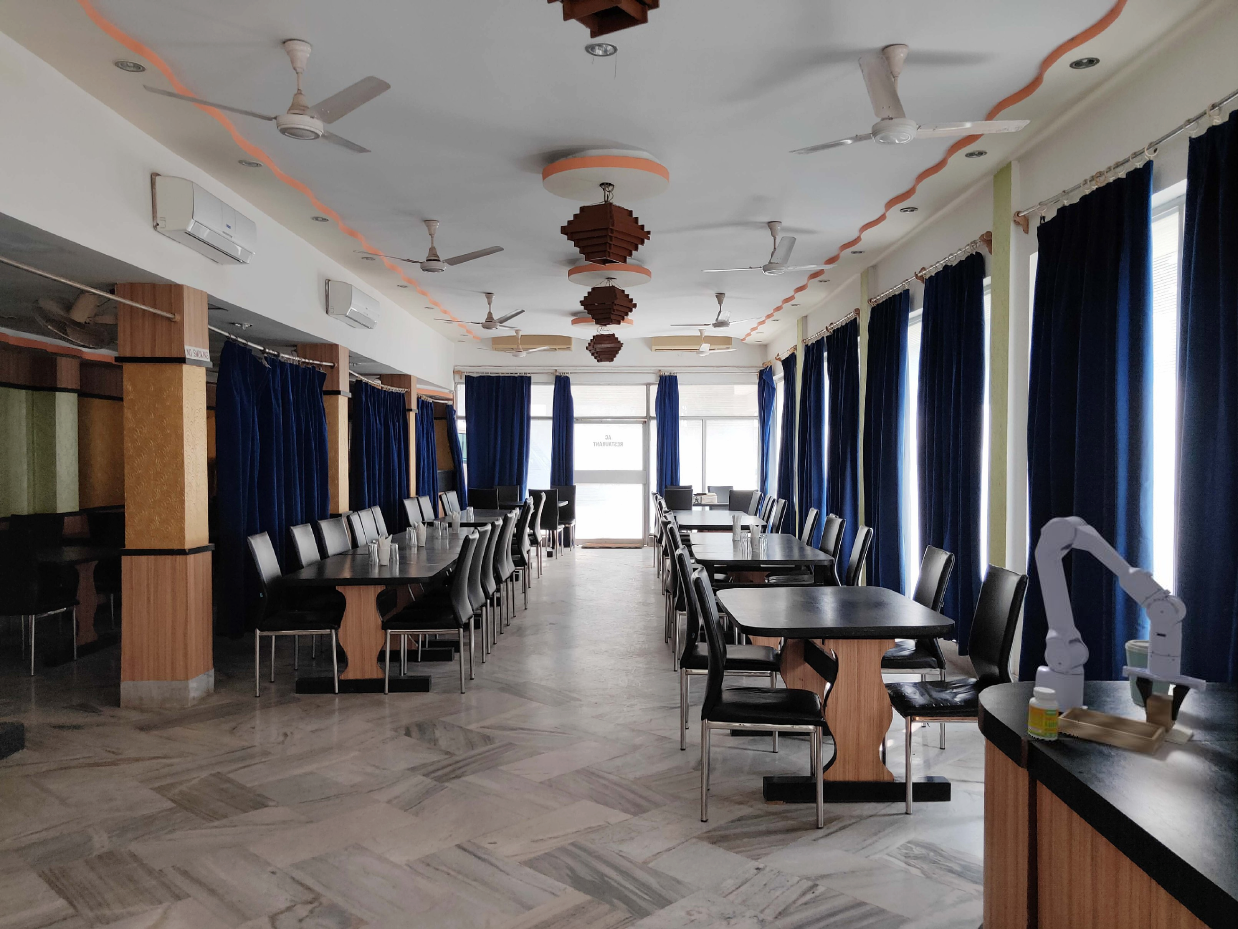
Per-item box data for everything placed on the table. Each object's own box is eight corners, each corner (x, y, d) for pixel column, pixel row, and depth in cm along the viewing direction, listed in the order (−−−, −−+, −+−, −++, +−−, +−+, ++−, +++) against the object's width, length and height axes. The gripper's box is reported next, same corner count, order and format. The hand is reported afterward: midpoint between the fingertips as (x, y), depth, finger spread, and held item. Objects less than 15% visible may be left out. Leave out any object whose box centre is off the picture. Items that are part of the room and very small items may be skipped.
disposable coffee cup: (1120, 704, 191) (1123, 641, 190) (1123, 694, 200) (1126, 633, 199) (1175, 714, 185) (1178, 649, 184) (1175, 703, 193) (1178, 640, 193)
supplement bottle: (1046, 742, 164) (1048, 695, 164) (1022, 733, 169) (1024, 687, 168) (1063, 739, 166) (1065, 692, 166) (1038, 730, 171) (1040, 684, 171)
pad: (1127, 732, 172) (1128, 729, 172) (1137, 721, 179) (1138, 718, 179) (1184, 745, 165) (1185, 742, 165) (1192, 733, 172) (1192, 730, 172)
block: (1145, 728, 170) (1146, 699, 170) (1153, 719, 176) (1154, 691, 176) (1168, 733, 167) (1169, 704, 167) (1175, 724, 173) (1176, 696, 173)
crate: (1057, 731, 170) (1058, 717, 170) (1071, 719, 179) (1072, 706, 179) (1153, 755, 159) (1154, 739, 159) (1164, 741, 167) (1165, 726, 167)
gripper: (1120, 649, 174) (1117, 712, 174) (1203, 663, 164) (1199, 730, 164) (1127, 644, 179) (1124, 705, 179) (1208, 657, 169) (1205, 722, 169)
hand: (1161, 716), depth 172 cm, fingers closed on block, 4 cm apart
